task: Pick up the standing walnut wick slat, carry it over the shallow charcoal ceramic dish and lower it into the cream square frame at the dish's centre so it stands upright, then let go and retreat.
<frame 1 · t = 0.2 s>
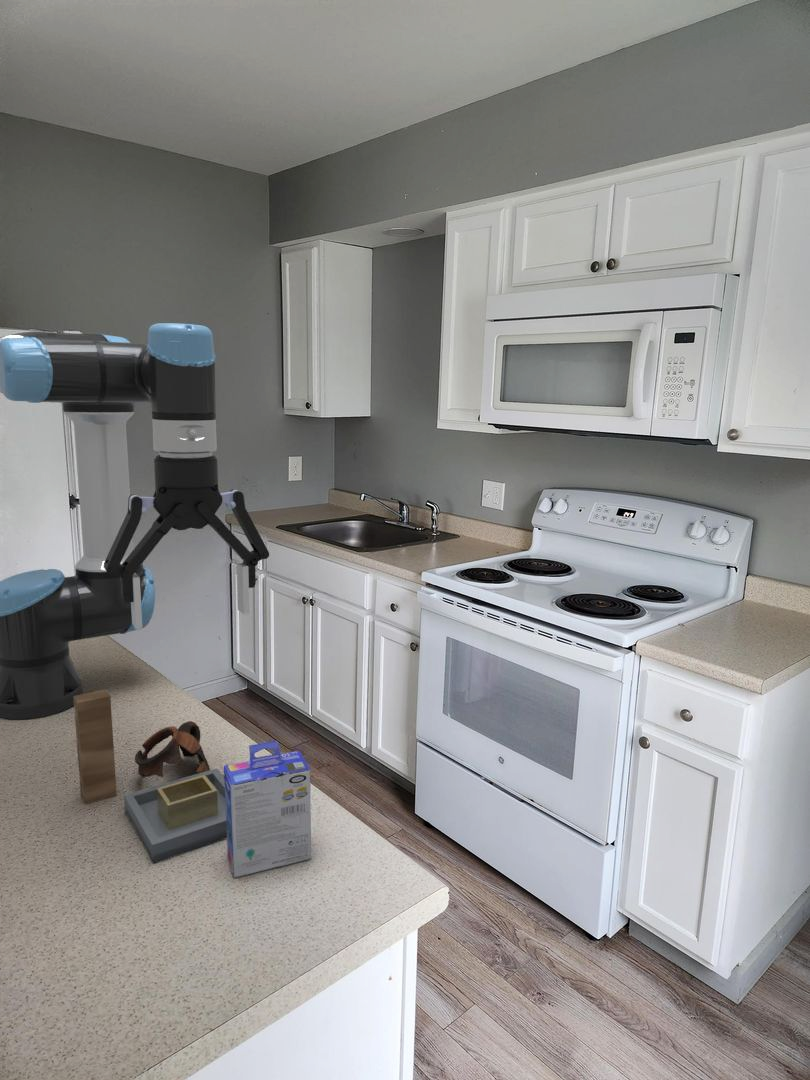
hand: (192, 618, 94), 27 cm above the counter, fingers open, 13 cm apart
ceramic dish: (188, 820, 97), on the counter
cream square frame: (187, 801, 97), in the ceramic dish, point 3 cm above the counter
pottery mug: (178, 773, 109), on the counter
ink cartridge box: (269, 857, 90), on the counter
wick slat: (98, 795, 102), on the counter
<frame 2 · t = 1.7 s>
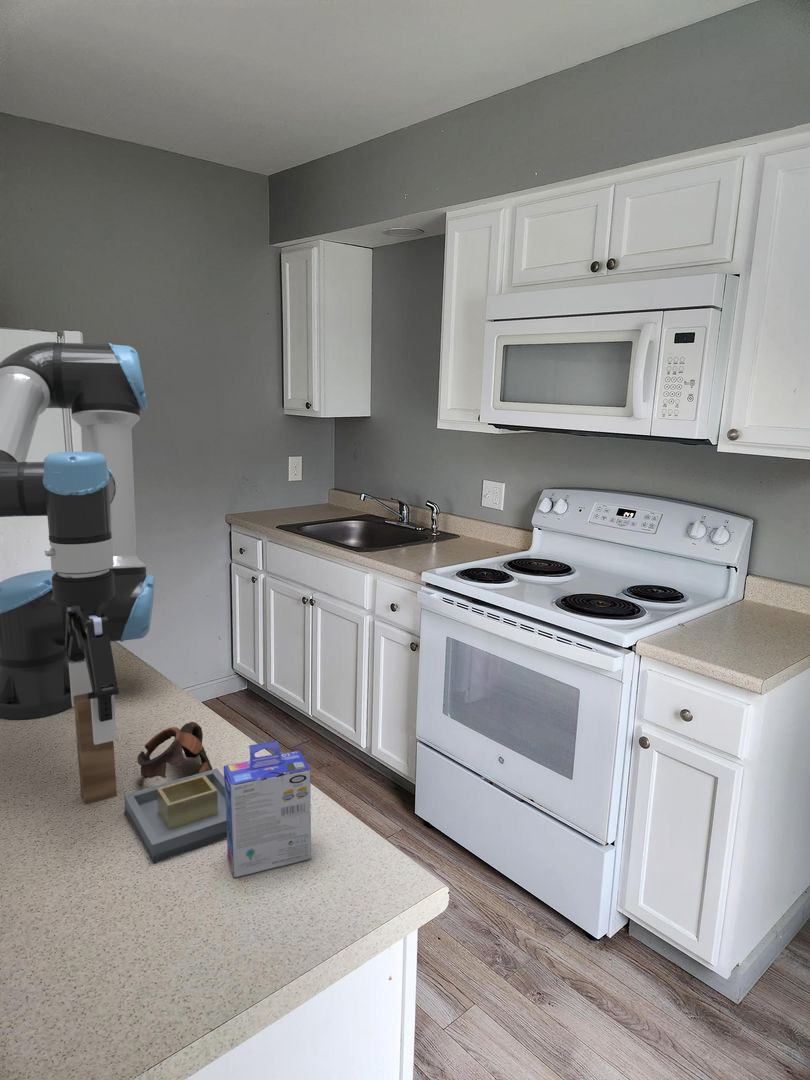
hand: (93, 722, 100), 11 cm above the counter, fingers open, 13 cm apart
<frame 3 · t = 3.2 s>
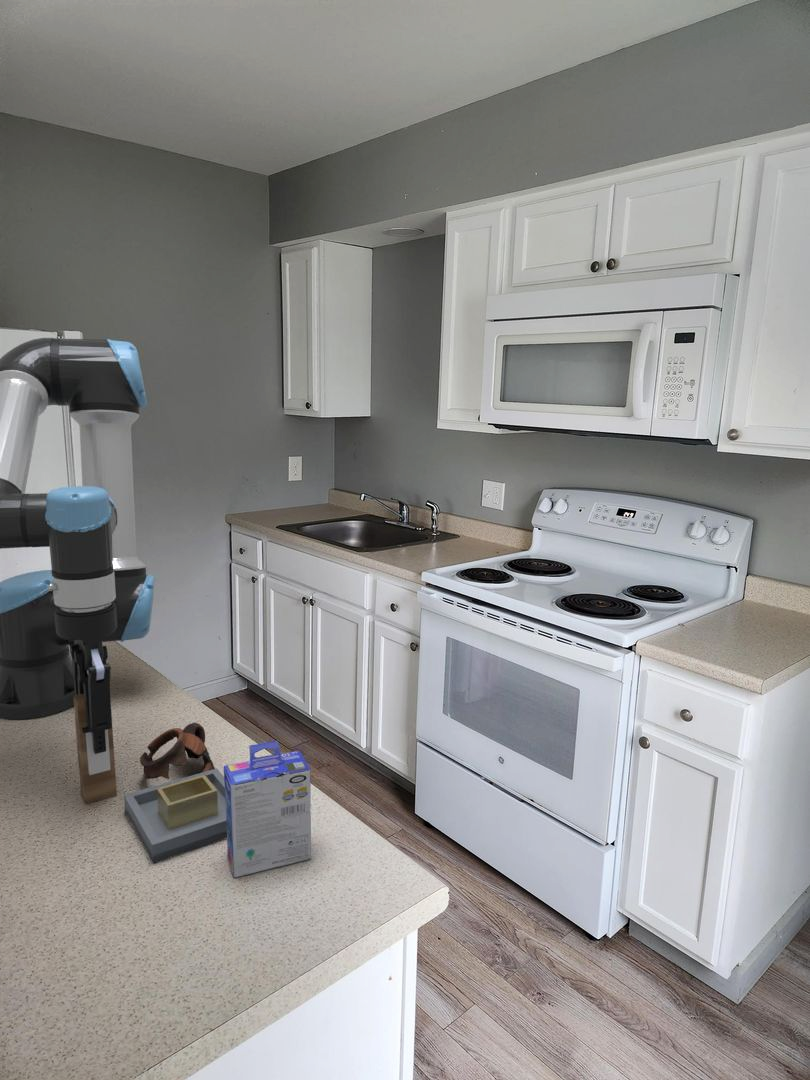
hand: (96, 765, 102), 5 cm above the counter, fingers closed on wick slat, 3 cm apart
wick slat: (98, 795, 103), on the counter, touching gripper
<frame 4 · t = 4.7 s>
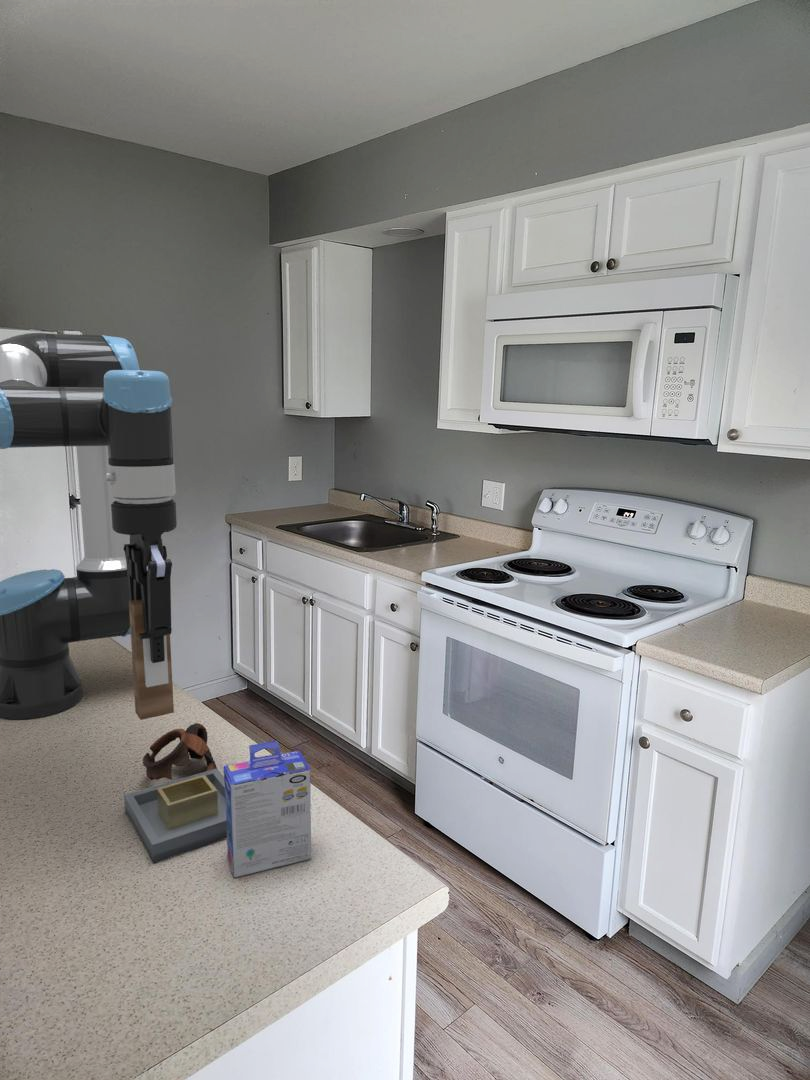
hand: (153, 679, 94), 20 cm above the counter, fingers closed on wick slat, 3 cm apart
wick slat: (154, 712, 95), point 15 cm above the counter, touching gripper
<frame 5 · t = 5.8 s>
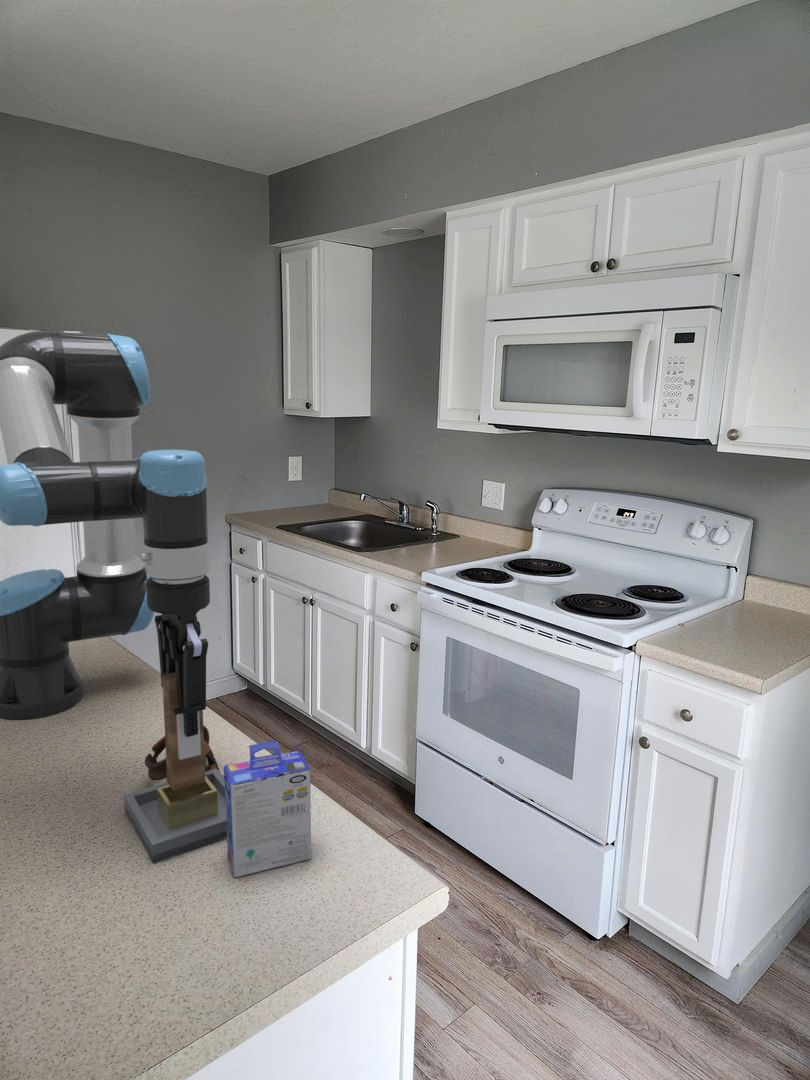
hand: (185, 750, 95), 10 cm above the counter, fingers closed on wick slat, 3 cm apart
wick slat: (186, 781, 96), point 6 cm above the counter, touching gripper
when the fingers open (7 cm above the counter, at t = 6.7 s): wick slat drops 1 cm, resting on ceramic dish.
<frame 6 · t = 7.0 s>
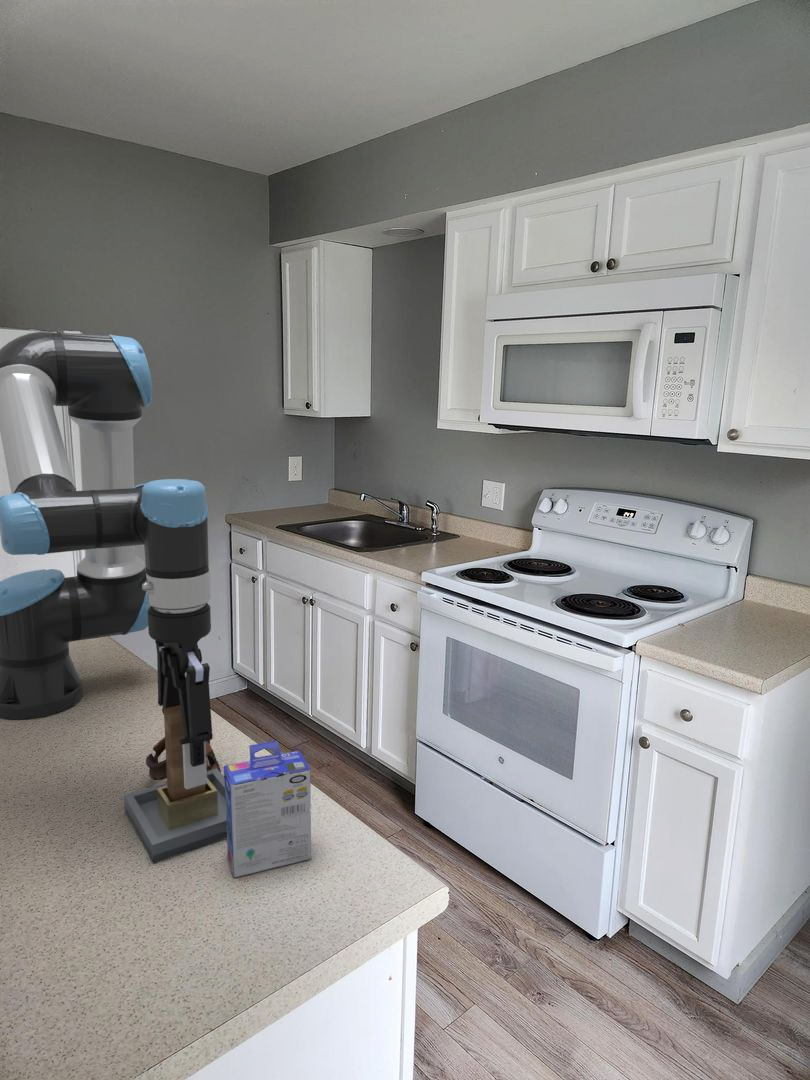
hand: (186, 772, 96), 7 cm above the counter, fingers open, 7 cm apart
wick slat: (187, 813, 97), point 1 cm above the counter, touching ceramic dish
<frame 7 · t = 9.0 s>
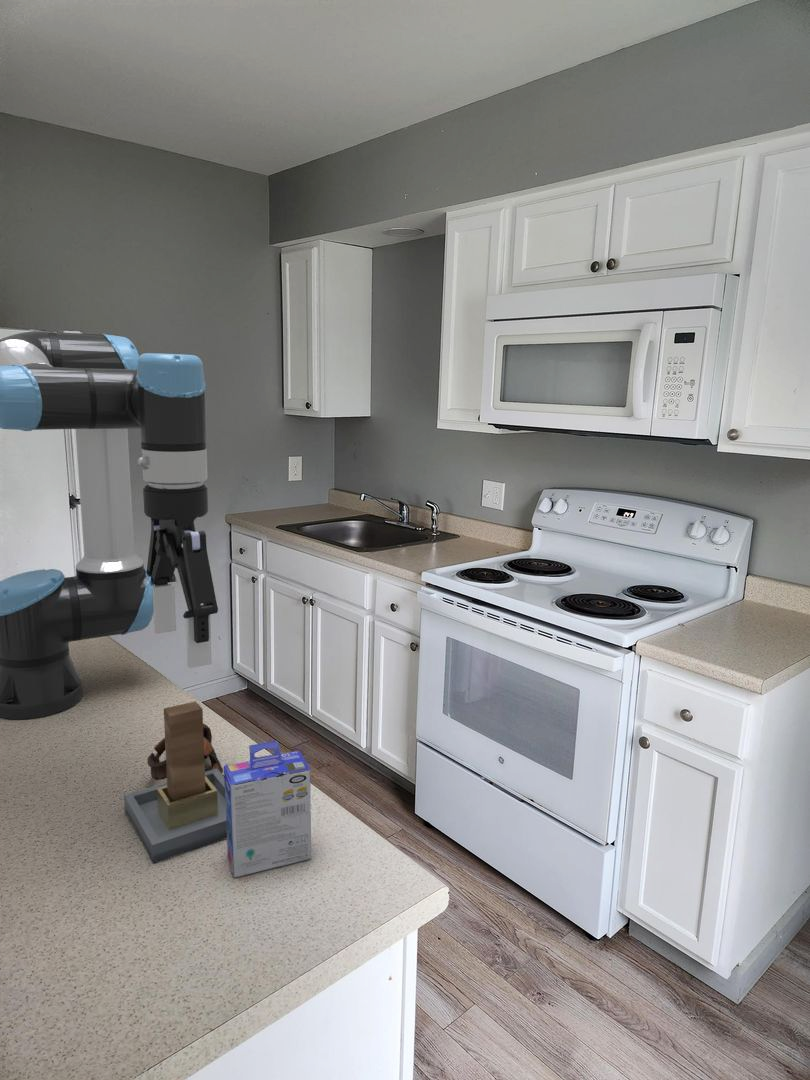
hand: (181, 647, 94), 24 cm above the counter, fingers open, 13 cm apart
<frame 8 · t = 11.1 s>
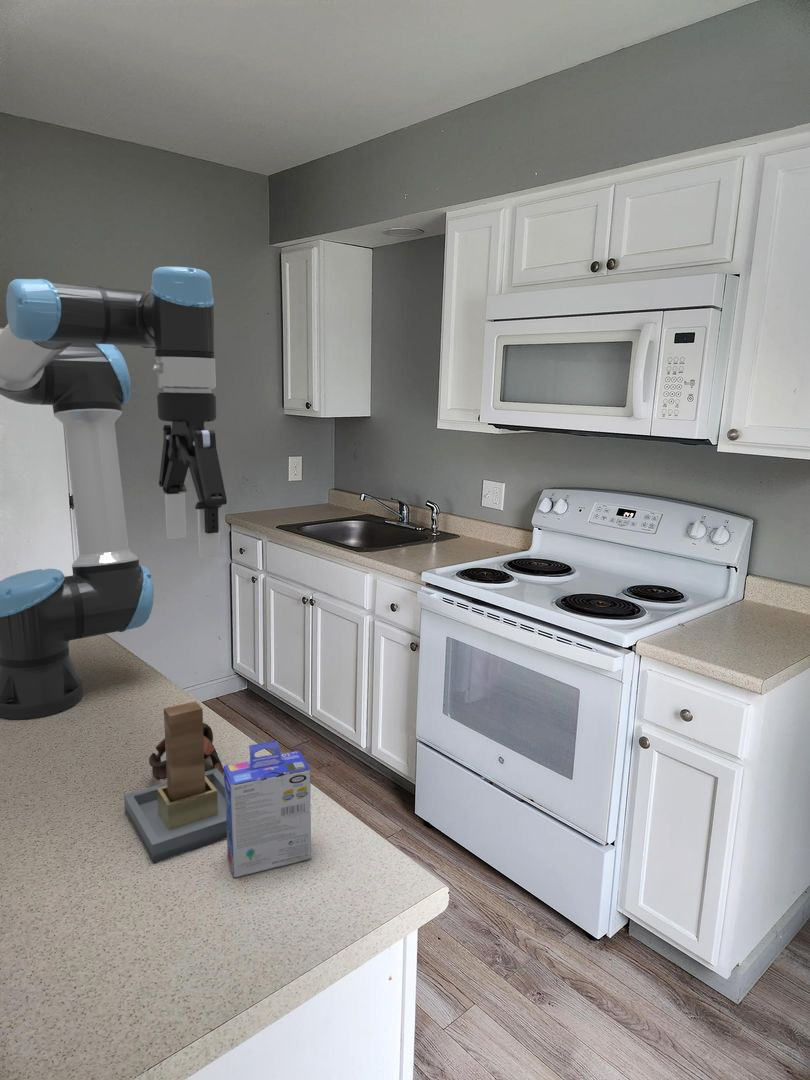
hand: (192, 546, 102), 35 cm above the counter, fingers open, 13 cm apart
at the end: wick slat 0.0 cm off-centre on the cream square frame, point 1.0 cm above the cream square frame's base; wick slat tilted 0°; the gripper is holding nothing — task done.
